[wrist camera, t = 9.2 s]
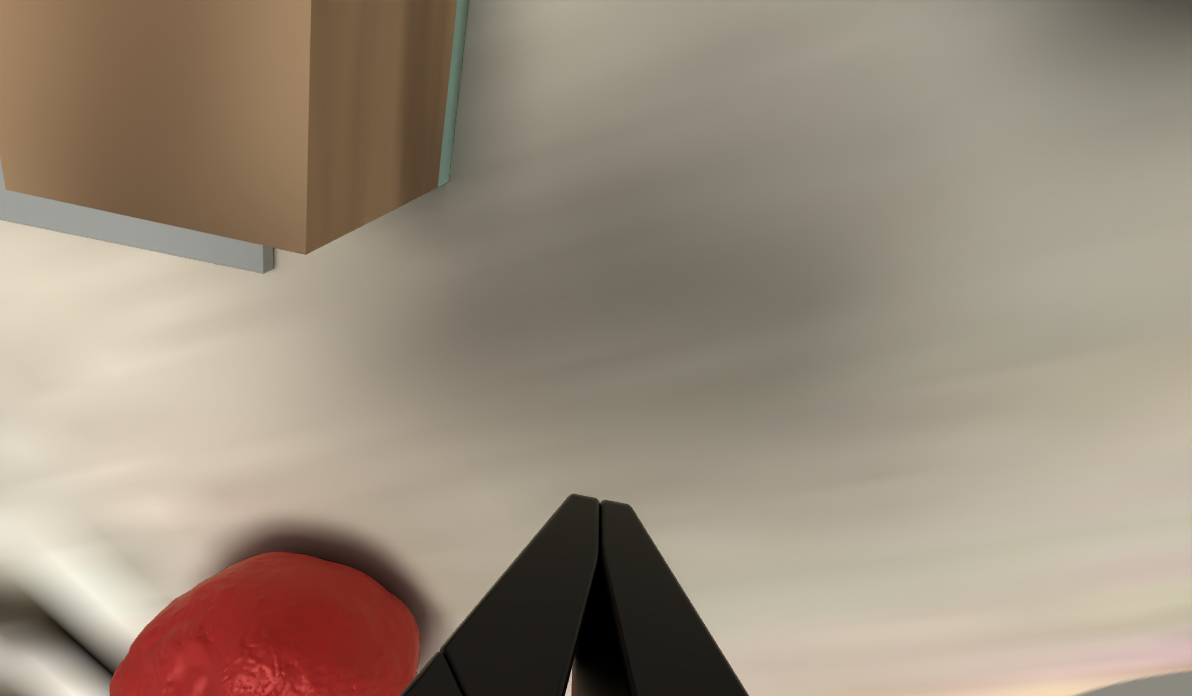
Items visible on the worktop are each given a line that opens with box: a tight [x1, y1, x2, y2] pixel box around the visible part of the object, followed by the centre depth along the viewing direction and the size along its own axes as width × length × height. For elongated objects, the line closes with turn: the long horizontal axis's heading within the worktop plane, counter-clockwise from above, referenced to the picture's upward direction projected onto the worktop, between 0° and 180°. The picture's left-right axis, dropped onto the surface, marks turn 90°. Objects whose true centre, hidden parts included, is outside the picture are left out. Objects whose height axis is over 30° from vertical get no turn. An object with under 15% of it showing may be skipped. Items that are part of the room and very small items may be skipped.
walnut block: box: [0, 0, 469, 255], centre depth 13 cm, size 5×6×9 cm
